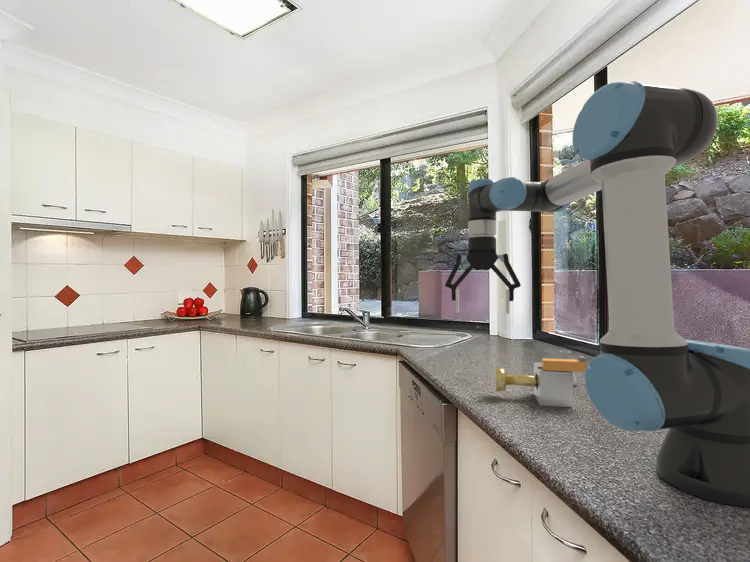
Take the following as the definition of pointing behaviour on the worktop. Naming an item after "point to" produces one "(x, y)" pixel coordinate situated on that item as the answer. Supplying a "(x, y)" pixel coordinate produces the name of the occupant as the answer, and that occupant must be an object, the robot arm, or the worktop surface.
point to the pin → (513, 380)
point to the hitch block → (553, 387)
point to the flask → (566, 356)
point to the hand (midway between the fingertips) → (482, 312)
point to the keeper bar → (565, 364)
